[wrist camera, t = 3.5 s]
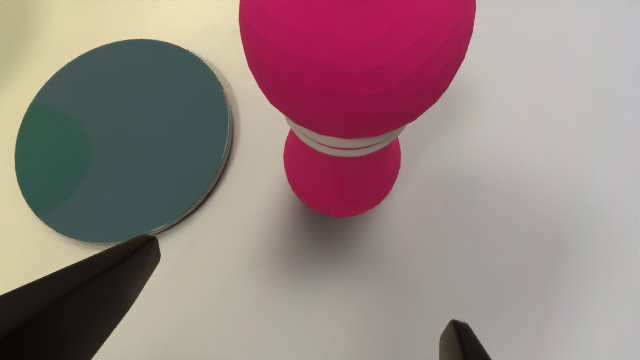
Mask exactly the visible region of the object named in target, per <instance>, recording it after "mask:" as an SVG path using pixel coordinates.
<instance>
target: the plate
mask: <svg viewBox="0 0 640 360" xmlns="http://www.w3.org/2000/svg"><path fill="white" fill-rule="evenodd" d="M232 129H233V123H232V112H231V108H230V104H229V100H228V98H227V95H226V93H225V90H224V88H223V87H222V85H221V83H220V81H219V80H218V78H217V77H216V75H215V74H214V73H213V71H212V70H211V69H210V68H209V66H208V65H206V64H205V63H204V62H203V61H202V60H201V59H200V58H199V57H197V56H196V55H194V54H193V53H191V52H190V51H188V50H186V49H183V48H181V47H179V46H177V45H174V44H171V43H168V42H163V41H158V40H150V39H131V40H123V41H117V42H113V43H109V44H106V45H103V46H100V47H97V48H95V49H92V50H90V51H88V52H86V53H84V54H82V55H80V56H78V57H77V58H75V59H74V60H72V61H71V62H69V63H68V64H66V65H65V66H64V67H62V68H61V69H60V70H59V71H57V72H56V73H55V74H54V75H53V76H52V77H51V78H50V79H49V80H48V81H47V82H46V83H45V84H44V86H43V87H42V88H41V89H40V91H39V92H38V93H37V94H36V96H35V98H34V99H33V101H32V102H31V104H30V105H29V107H28V109H27V111H26V113H25V115H24V117H23V120H22V123H21V125H20V128H19V131H18V136H17V140H16V146H15V171H16V177H17V182H18V185H19V187H20V190H21V193H22V195H23V197H24V199H25V201H26V202H27V204H28V206H29V207H30V208H31V210H32V211H33V212H34V213H35V215H36V216H37V217H38V218H39V219H40V220H42V221H43V222H44V223H45V224H46V225H47V226H49V227H51V228H52V229H54V230H55V231H57V232H58V233H61V234H63V235H65V236H68V237H70V238H73V239H77V240H81V241H84V242H93V243H104V244H109V243H123V242H125V241H128V240H130V239H132V238H135V237H137V236H139V235H142V234H148V235H151V236H152V235H154V234H156V233H159V232H161V231H163V230H165V229H167V228H169V227H170V226H172V225H174V224H176V223H177V222H179V221H180V220H181V219H183V218H184V217H185V216H187V215H188V214H189V213H190V212H191V211H193V210H194V209H195V208H196V207H197V206H198V205H199V204H200V203H201V202H202V201H203V199H204V198H205V197H206V196H207V195H208V193H209V192H210V191H211V189H212V188H213V186H214V185H215V183H216V182H217V180H218V178H219V177H220V175H221V172H222V170H223V168H224V166H225V164H226V161H227V158H228V155H229V151H230V146H231V141H232Z"/></svg>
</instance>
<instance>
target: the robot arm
mask: <svg viewBox="0 0 640 360" xmlns="http://www.w3.org/2000/svg"><path fill="white" fill-rule="evenodd" d="M160 257H161V254H160V248H159V242H158V239H157V238H156V237H155V236H151V235H148V234H142V235H139V236H137V237H135V238H132V239H130V240H128V241H125V242H123V243H121V244H118V245H116V246H114V247H111V248H109V249H107V250H104V251H102V252H100V253H98V254H95V255H93V256H91V257H88V258H86V259H84V260H81V261H79V262H77V263H74V264H72V265H70V266H67V267H65V268H63V269H61V270H58V271H56V272H54V273H51V274H49V275H47V276H44V277H42V278H40V279H37V280H35V281H33V282H30V283H28V284H26V285H23V286H21V287H19V288H17V289H14V290H12V291H10V292H7V293H5V294H3V295H0V360H91V359H92V358H93V357H94V355H95V354H96V353H97V351H98V350H99V349H100V348H101V346H102V345H103V344H104V342H105V341H106V340H107V338H108V337H109V336H110V334H111V333H112V332H113V330H114V329H115V328H116V327H117V325H118V324H119V323H120V321H121V320H122V319H123V317H124V316H125V315H126V313H127V312H128V311H129V309H130V308H131V306H132V305H133V303H134V302H135V300H136V299H137V297H138V296H139V294H140V292H141V291H142V289H143V288H144V286H145V284H146V283H147V281H148V279H149V278H150V276H151V275H152V273H153V271H154V270H155V268H156V267H157V265H158V263H159V261H160ZM439 360H492V359H491V358H490V356H489V355H488V353H487V352H486V350H485V349H484V347H483V346H482V344H481V343H480V341H479V340H478V338H477V337H476V335H475V334H474V332H473V331H472V329H471V328H470V326H469V325H468V324H467V323H465V322H462V321H458V320H454V319H453V320H451V321H450V322H449V323H448V325H447V327H446V328H445V330H444V331H443V333H442V335H441V337H440V343H439Z"/></svg>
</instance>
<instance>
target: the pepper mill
mask: <svg viewBox="0 0 640 360" xmlns="http://www.w3.org/2000/svg"><path fill="white" fill-rule="evenodd" d="M475 12H476V0H240V6H239V26H240V34H241V40H242V44H243V48H244V52H245V56H246V59H247V63H248V66H249V69H250V71H251V72H252V74H253V76H254V78H255V80H256V82H257V84H258V86H259V88H260V89H261V90H262V92H263V93H264V95H265V96H266V98H267V99H268V100H269V102H270V103H271V104H272V105H273V106H274V107H275V108H277V109H278V110H279V111H280V112H282V113H283V114H284V115H285V118H286V120H287V123H288V124H289V126H290V127H291V129H290V131H289V134H288V136H287V139H286V142H285V148H284V155H283V158H284V167H285V172H286V175H287V179H288V182H289V184H290V186H291V188H292V190H293V191H294V192H295V194H296V195H297V197H298V198H299V199H300V200H301V201H302V202H303V203H305V204H306V205H307V206H309V207H310V208H312V209H314V210H315V211H317V212H320V213H322V214H326V215H329V216H333V217H347V216H354V215H358V214H361V213H364V212H366V211H368V210H370V209H372V208H374V207H375V206H376V205H378V204H379V203H380V202H381V201H382V200H383V199H384V198H385V197H386V196H387V195H388V193H389V192H390V190H391V189H392V187H393V185H394V183H395V181H396V178H397V176H398V173H399V169H400V163H401V152H400V145H399V140H398V137H397V136H398V135H399V134H400V133H401V132H402V130H403V129H404V128H405V126H406V124H408V123H410V122H412V121H414V120H416V119H417V118H418V117H419V116H420V115H422V114H423V113H424V112H425V111H426V110H428V109H429V108H430V107H431V106H432V105H433V104H435V103H436V102H437V101H438V99H439V98H440V97H441V96H442V94H443V93H444V92H445V91H446V90H447V88H448V87H449V85H450V83H451V82H452V80H453V78H454V76H455V75H456V73H457V71H458V69H459V67H460V66H461V64H462V62H463V60H464V58H465V55H466V52H467V49H468V45H469V42H470V39H471V36H472V33H473V26H474V19H475Z"/></svg>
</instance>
